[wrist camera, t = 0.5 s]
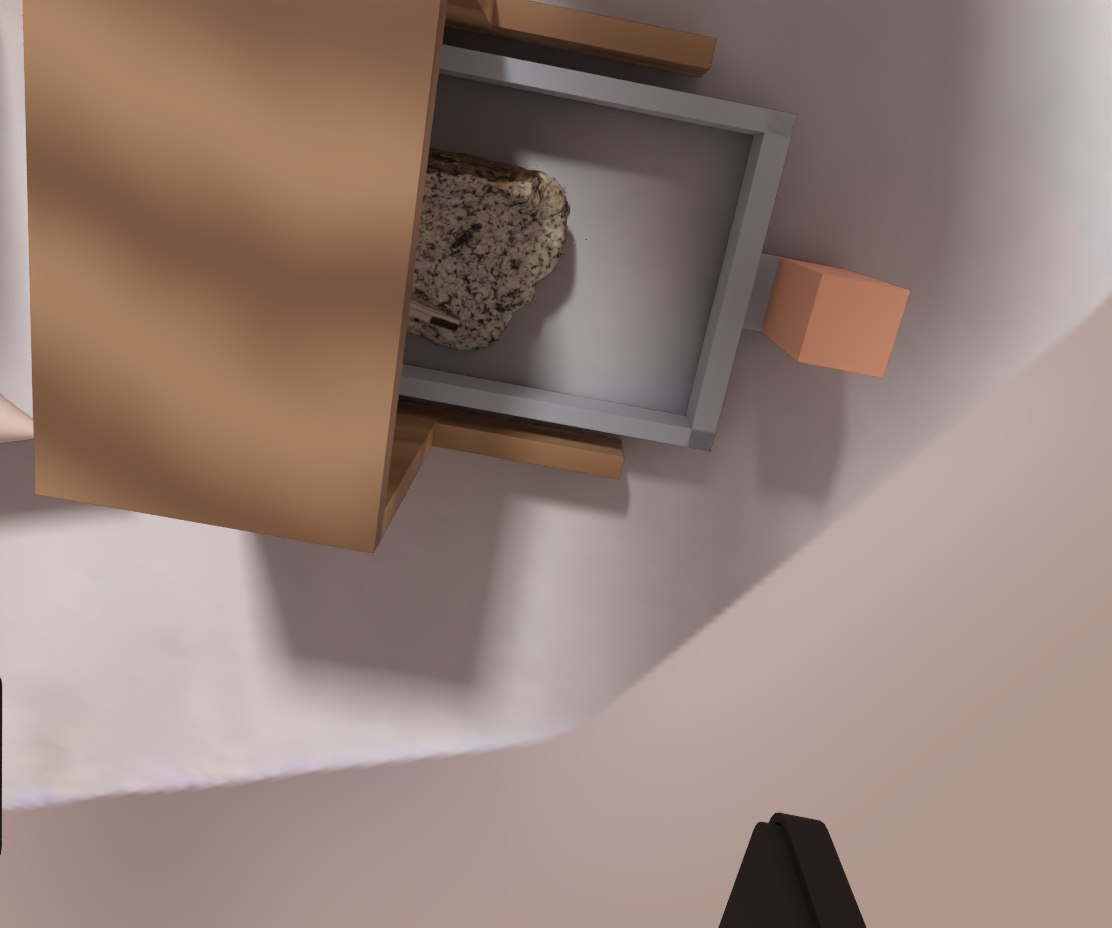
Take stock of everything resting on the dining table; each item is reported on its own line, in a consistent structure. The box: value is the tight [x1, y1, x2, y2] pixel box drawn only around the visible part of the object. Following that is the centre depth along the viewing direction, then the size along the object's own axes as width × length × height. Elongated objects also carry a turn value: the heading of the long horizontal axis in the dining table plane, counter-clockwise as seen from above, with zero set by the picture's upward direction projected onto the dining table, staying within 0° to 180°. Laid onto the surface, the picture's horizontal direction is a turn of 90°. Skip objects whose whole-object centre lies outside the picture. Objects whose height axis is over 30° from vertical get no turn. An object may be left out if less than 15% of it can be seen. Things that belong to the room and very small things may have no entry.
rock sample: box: [407, 148, 587, 351], centre depth 33 cm, size 10×8×9 cm
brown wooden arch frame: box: [23, 0, 717, 553], centre depth 28 cm, size 17×26×13 cm, turn 80°
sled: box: [399, 44, 910, 451], centre depth 31 cm, size 13×24×7 cm, turn 80°
